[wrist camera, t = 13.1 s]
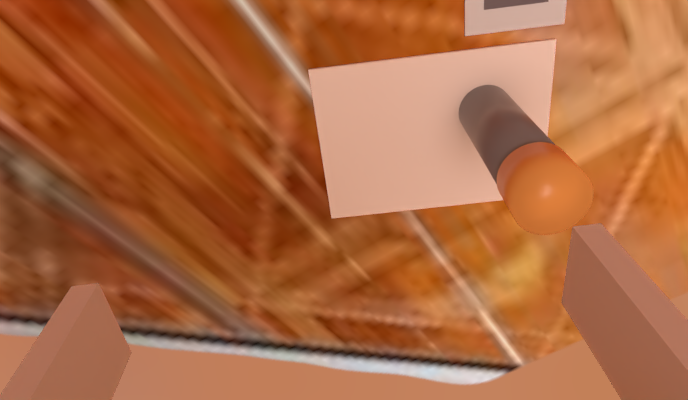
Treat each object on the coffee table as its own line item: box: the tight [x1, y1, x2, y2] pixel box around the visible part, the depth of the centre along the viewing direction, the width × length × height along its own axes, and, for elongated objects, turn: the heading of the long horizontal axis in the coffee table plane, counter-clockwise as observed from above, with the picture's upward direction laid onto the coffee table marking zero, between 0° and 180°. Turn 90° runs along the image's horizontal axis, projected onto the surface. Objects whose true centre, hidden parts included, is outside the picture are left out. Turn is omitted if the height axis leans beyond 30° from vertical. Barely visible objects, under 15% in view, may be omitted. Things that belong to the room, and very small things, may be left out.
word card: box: [464, 0, 567, 36], centre depth 34 cm, size 7×4×1 cm, turn 97°
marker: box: [459, 85, 594, 235], centre depth 32 cm, size 4×4×14 cm
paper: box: [308, 39, 556, 218], centre depth 39 cm, size 18×13×1 cm
